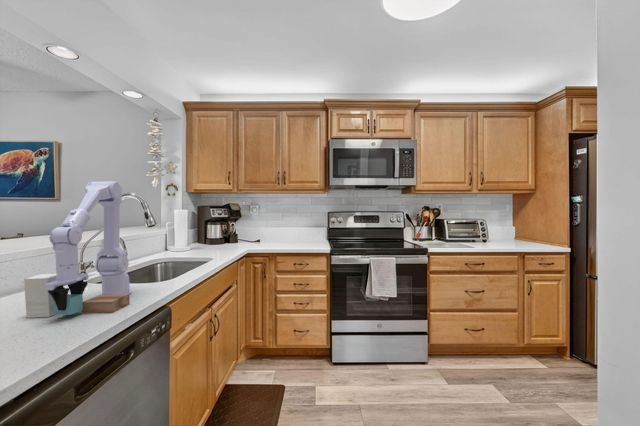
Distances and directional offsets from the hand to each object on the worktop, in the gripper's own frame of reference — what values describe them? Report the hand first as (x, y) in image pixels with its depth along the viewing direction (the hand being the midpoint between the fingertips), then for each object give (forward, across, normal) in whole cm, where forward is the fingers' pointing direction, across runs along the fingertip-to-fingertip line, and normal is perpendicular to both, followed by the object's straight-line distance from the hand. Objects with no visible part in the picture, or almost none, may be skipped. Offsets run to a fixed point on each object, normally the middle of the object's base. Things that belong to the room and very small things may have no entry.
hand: (69, 307), depth 110 cm
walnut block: (+3, +8, -6) cm, 11 cm away
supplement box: (+3, +2, +10) cm, 11 cm away
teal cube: (+2, 0, 0) cm, 2 cm away
